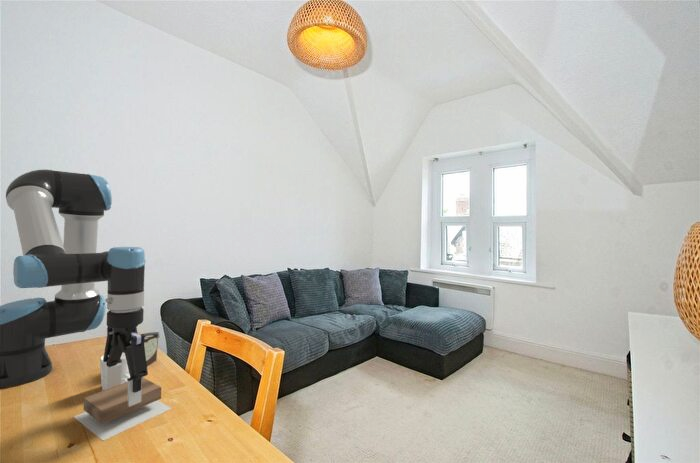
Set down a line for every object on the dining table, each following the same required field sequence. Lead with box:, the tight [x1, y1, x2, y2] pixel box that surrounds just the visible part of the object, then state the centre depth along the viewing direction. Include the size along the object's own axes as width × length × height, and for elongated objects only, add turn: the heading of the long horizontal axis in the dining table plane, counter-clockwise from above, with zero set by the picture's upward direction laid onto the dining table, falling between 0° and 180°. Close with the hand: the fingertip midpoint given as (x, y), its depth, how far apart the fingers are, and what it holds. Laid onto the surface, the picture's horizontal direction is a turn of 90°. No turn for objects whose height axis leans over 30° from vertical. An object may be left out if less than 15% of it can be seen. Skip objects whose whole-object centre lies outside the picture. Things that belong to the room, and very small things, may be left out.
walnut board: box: [83, 377, 162, 424], centre depth 80 cm, size 10×13×3 cm
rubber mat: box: [73, 400, 173, 441], centre depth 80 cm, size 16×15×1 cm
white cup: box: [99, 353, 130, 391], centre depth 92 cm, size 8×8×10 cm
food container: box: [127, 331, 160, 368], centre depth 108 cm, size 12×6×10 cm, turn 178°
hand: (123, 397), depth 80 cm, fingers closed on walnut board, 10 cm apart
